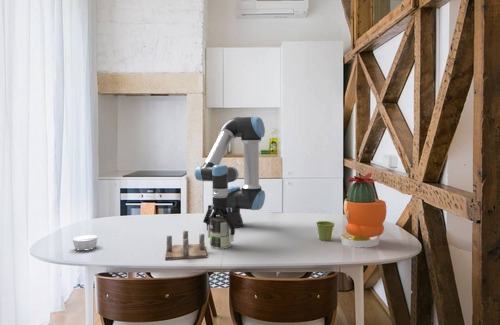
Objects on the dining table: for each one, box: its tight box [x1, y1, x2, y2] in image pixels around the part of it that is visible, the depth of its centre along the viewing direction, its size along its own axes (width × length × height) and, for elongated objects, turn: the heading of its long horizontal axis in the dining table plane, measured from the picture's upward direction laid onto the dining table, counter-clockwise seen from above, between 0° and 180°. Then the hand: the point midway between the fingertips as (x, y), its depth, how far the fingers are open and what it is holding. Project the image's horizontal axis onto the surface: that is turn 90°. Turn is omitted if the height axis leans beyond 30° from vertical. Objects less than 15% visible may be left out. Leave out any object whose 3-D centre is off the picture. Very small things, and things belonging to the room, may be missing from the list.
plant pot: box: [315, 220, 335, 242], centre depth 204 cm, size 9×9×9 cm
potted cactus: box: [340, 172, 387, 248], centre depth 196 cm, size 22×22×35 cm
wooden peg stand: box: [164, 230, 207, 261], centre depth 182 cm, size 18×18×8 cm
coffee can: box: [209, 215, 232, 250], centre depth 192 cm, size 10×10×14 cm
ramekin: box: [72, 234, 99, 250], centre depth 190 cm, size 11×11×5 cm
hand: (220, 239), depth 193 cm, fingers open, 13 cm apart
